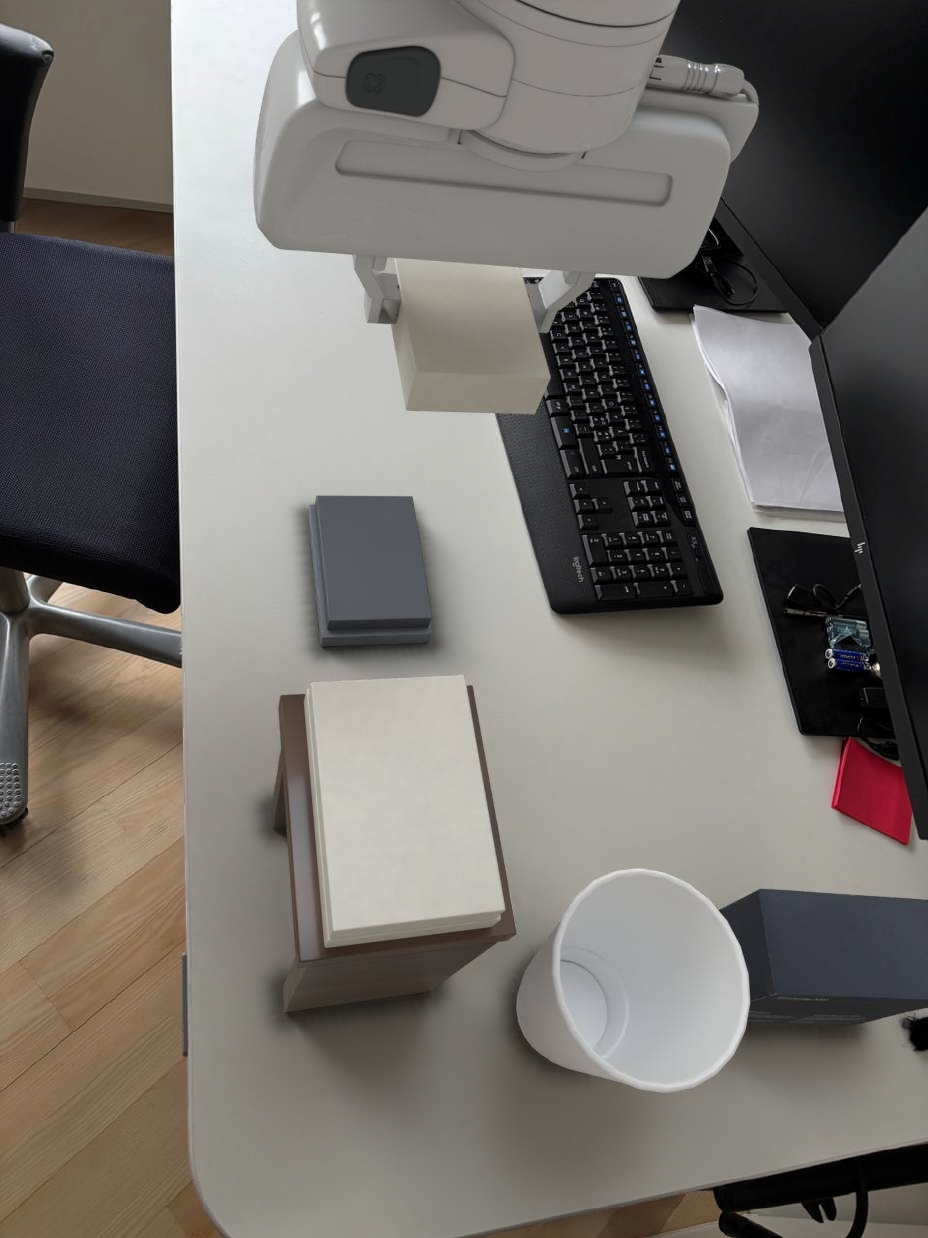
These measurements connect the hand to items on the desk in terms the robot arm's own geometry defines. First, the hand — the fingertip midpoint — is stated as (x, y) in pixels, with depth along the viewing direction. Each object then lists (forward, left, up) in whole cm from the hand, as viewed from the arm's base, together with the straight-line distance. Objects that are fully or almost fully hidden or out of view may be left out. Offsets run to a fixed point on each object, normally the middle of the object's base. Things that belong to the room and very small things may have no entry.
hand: (455, 319), depth 46 cm
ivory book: (0, 0, -1) cm, 1 cm away
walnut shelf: (+15, -14, -35) cm, 41 cm away
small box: (+40, +5, -35) cm, 54 cm away
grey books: (-4, +5, -35) cm, 35 cm away
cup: (+31, -8, -35) cm, 47 cm away
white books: (+15, -14, -15) cm, 25 cm away
